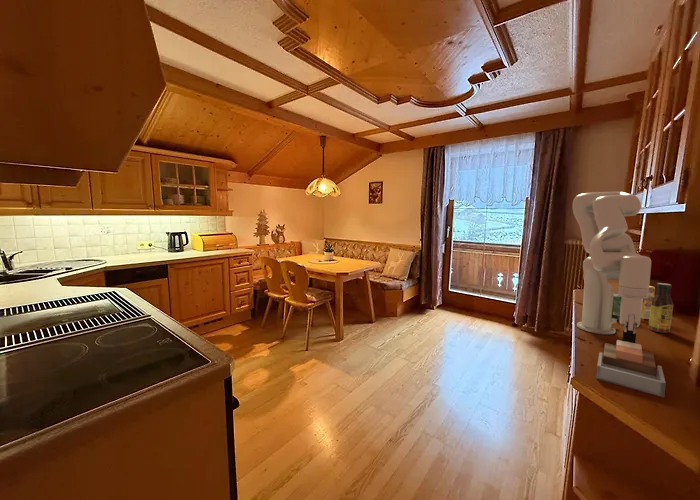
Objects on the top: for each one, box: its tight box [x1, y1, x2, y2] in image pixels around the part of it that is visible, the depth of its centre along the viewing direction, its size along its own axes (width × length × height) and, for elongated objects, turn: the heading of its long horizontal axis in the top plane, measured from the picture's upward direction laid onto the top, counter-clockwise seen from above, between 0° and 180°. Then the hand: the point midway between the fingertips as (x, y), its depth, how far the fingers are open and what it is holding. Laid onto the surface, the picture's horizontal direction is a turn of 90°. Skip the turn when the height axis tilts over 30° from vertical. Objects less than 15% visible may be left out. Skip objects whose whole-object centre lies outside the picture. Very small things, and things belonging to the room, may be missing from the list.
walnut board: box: [602, 342, 657, 376], centre depth 97 cm, size 13×12×3 cm
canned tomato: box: [611, 292, 622, 321], centre depth 139 cm, size 8×8×11 cm
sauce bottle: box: [648, 282, 674, 334], centre depth 122 cm, size 6×6×20 cm
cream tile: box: [615, 339, 643, 351], centre depth 98 cm, size 5×6×2 cm
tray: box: [595, 351, 667, 398], centre depth 88 cm, size 12×14×4 cm
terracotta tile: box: [616, 345, 643, 364], centre depth 94 cm, size 5×6×2 cm
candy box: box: [641, 285, 656, 320], centre depth 139 cm, size 9×4×15 cm, turn 171°
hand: (628, 343), depth 102 cm, fingers closed
